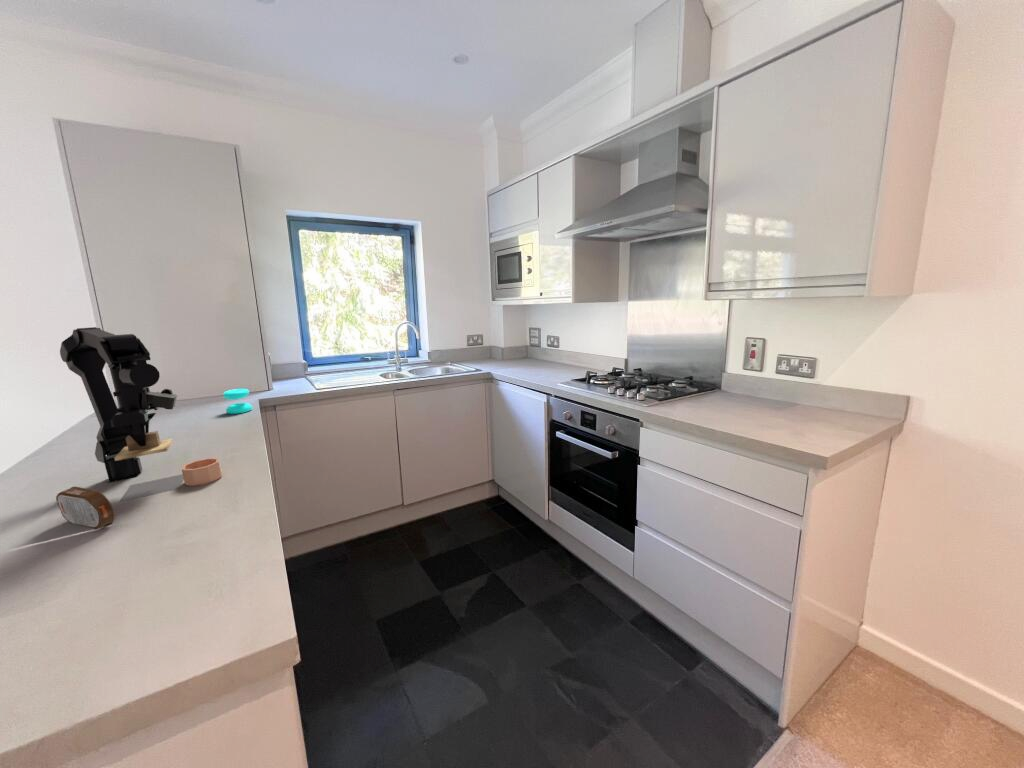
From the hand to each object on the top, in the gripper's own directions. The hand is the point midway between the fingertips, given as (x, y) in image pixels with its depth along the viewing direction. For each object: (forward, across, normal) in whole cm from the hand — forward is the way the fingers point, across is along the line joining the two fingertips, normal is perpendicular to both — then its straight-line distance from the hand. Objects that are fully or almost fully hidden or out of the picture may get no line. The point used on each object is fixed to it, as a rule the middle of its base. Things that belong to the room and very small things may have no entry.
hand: (144, 444), depth 109 cm
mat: (+12, 0, 0) cm, 12 cm away
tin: (+12, -16, +9) cm, 22 cm away
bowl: (+12, -3, -11) cm, 17 cm away
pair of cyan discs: (+12, +86, -17) cm, 88 cm away
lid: (+2, 0, 0) cm, 2 cm away
